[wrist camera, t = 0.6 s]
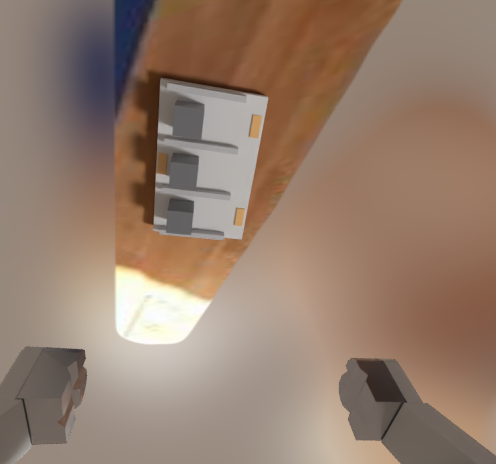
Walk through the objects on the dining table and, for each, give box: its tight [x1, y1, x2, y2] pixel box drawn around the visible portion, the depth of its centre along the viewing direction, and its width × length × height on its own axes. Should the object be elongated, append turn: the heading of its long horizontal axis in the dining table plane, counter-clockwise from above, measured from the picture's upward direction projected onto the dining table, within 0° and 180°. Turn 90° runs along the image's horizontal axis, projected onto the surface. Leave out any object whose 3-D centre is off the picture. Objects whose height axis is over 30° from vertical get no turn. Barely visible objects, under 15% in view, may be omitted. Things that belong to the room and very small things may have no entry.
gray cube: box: [172, 100, 205, 139], centre depth 44 cm, size 4×4×4 cm
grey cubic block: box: [169, 153, 199, 191], centre depth 47 cm, size 4×4×4 cm
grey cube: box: [166, 199, 194, 235], centre depth 50 cm, size 4×4×4 cm
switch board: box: [153, 78, 268, 240], centre depth 49 cm, size 22×14×3 cm, turn 170°
